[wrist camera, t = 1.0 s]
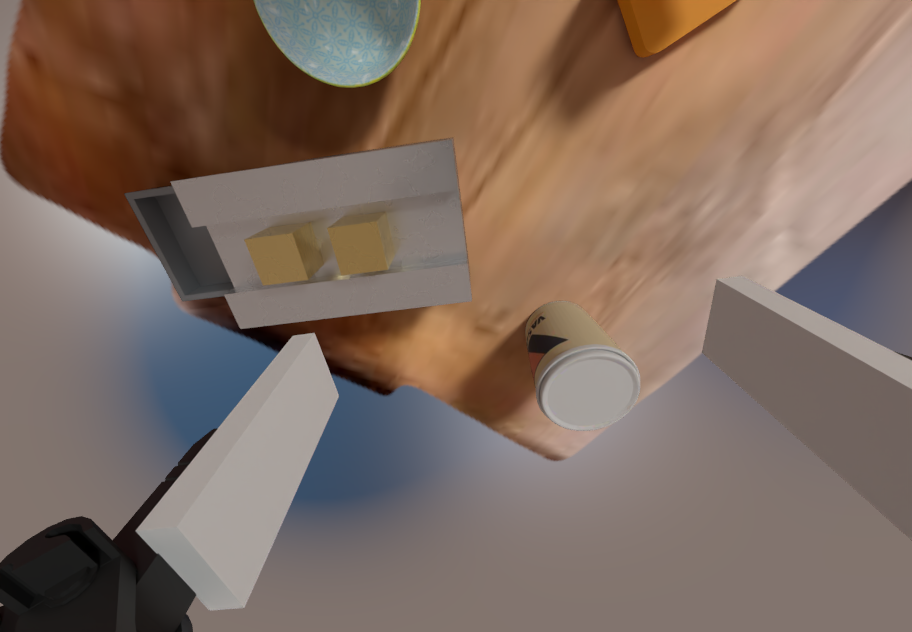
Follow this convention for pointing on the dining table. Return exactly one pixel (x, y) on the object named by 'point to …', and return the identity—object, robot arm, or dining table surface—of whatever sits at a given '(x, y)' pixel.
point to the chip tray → (180, 245)
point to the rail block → (323, 203)
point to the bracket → (664, 21)
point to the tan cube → (362, 243)
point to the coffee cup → (578, 369)
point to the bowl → (342, 36)
